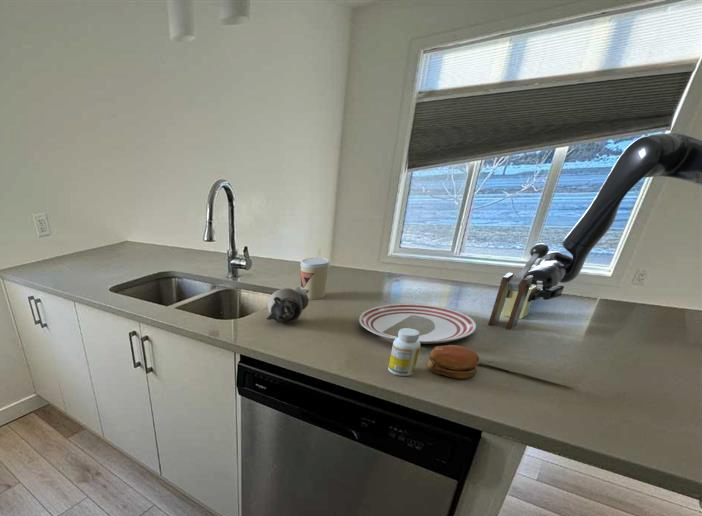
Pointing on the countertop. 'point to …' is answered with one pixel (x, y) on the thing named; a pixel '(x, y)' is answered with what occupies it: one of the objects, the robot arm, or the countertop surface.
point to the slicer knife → (528, 266)
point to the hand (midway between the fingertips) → (518, 295)
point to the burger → (453, 361)
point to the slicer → (517, 305)
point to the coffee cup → (314, 277)
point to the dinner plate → (445, 320)
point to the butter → (511, 302)
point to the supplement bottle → (404, 352)
